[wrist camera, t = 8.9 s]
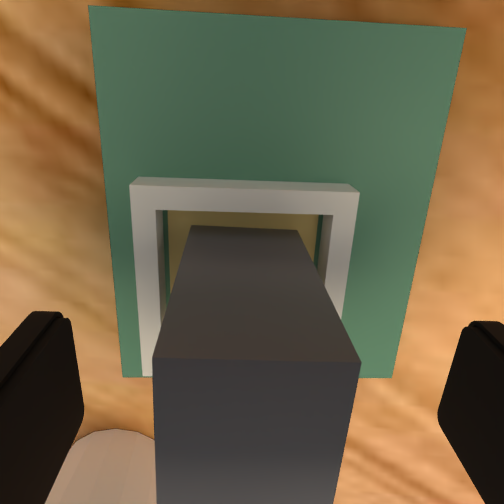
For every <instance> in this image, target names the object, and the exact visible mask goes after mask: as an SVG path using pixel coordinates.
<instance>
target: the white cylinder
mask: <svg viewBox="0 0 504 504" xmlns="http://www.w3.org/2000/svg"><path fill="white" fill-rule="evenodd" d="M45 504H157V502H156V470H155V440H153V439H151V438H149V437H147V436H145V435H143V434H141V433H139V432H134V431H128V430H121V429H110V430H103V431H96V432H93V433H91V434H89V435H87V436H85V437H83V438H81V439H79V440H77V441H76V442H75V444H74V445H73V446H72V448H71V449H70V450H69V452H68V454H67V456H66V458H65V461H64V463H63V465H62V467H61V469H60V472H59V474H58V476H57V478H56V480H55V483H54V485H53V487H52V489H51V491H50V493H49V496H48V498H47V500H46V502H45Z"/></svg>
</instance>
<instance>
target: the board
mask: <svg viewBox="0 0 504 504" xmlns="http://www.w3.org/2000/svg"><path fill="white" fill-rule="evenodd" d="M88 9H89V20H90V30H91V41H92V52H93V63H94V73H95V84H96V95H97V106H98V116H99V127H100V138H101V149H102V159H103V170H104V181H105V192H106V202H107V213H108V224H109V235H110V245H111V256H112V267H113V278H114V288H115V299H116V310H117V321H118V331H119V342H120V353H121V364H122V374H123V377H153V376H152V356H153V352H154V349H155V346H156V342H157V339H158V335H159V332H160V329H161V325H162V322H163V318H164V315H165V312H166V308H167V305H168V302H169V298H170V295H171V291H172V288H173V285H174V281H175V278H176V274H177V271H178V268H179V264H180V261H181V257H182V254H183V251H184V247H185V244H186V241H187V237H188V234H189V230H190V227H191V225H203V226H224V227H245V228H267V229H288V230H298V232H299V234H300V237H301V239H302V241H303V243H304V245H305V247H306V249H307V251H308V253H309V255H310V257H311V259H312V261H313V263H314V265H315V267H316V269H317V272H318V274H319V276H320V278H321V280H322V282H323V284H324V286H325V288H326V290H327V292H328V294H329V296H330V298H331V300H332V302H333V305H334V307H335V309H336V311H337V313H338V315H339V317H340V319H341V321H342V323H343V325H344V327H345V329H346V331H347V333H348V335H349V338H350V340H351V342H352V344H353V346H354V348H355V350H356V352H357V354H358V356H359V358H360V360H361V362H362V364H361V368H360V373H359V378H392V374H393V369H394V365H395V360H396V355H397V351H398V346H399V341H400V337H401V332H402V327H403V323H404V318H405V313H406V309H407V304H408V299H409V295H410V290H411V285H412V281H413V276H414V271H415V267H416V262H417V258H418V253H419V248H420V244H421V239H422V234H423V230H424V225H425V220H426V216H427V211H428V206H429V202H430V197H431V192H432V188H433V183H434V178H435V174H436V169H437V164H438V160H439V155H440V150H441V146H442V141H443V136H444V132H445V127H446V122H447V118H448V113H449V108H450V104H451V99H452V94H453V90H454V85H455V80H456V76H457V71H458V67H459V62H460V57H461V53H462V48H463V43H464V39H465V34H466V29H467V28H456V27H439V26H422V25H406V24H389V23H373V22H356V21H339V20H323V19H306V18H290V17H273V16H256V15H240V14H223V13H207V12H190V11H173V10H157V9H140V8H124V7H107V6H91V5H88Z"/></svg>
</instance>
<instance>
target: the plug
mask: <svg viewBox="0 0 504 504" xmlns="http://www.w3.org/2000/svg"><path fill="white" fill-rule="evenodd" d="M361 364H362V362H361V360H360V358H359V356H358V354H357V352H356V350H355V348H354V346H353V344H352V342H351V340H350V338H349V335H348V333H347V331H346V329H345V327H344V325H343V323H342V321H341V319H340V317H339V315H338V313H337V311H336V309H335V307H334V305H333V302H332V300H331V298H330V296H329V294H328V292H327V290H326V288H325V286H324V284H323V282H322V280H321V278H320V276H319V274H318V272H317V269H316V267H315V265H314V263H313V261H312V259H311V257H310V255H309V253H308V251H307V249H306V247H305V245H304V243H303V241H302V239H301V237H300V234H299V232H298V230H288V229H267V228H245V227H224V226H203V225H191V227H190V230H189V234H188V237H187V241H186V244H185V247H184V251H183V254H182V257H181V261H180V264H179V268H178V271H177V274H176V278H175V281H174V285H173V288H172V291H171V295H170V298H169V302H168V305H167V308H166V312H165V315H164V318H163V322H162V325H161V329H160V332H159V335H158V339H157V342H156V346H155V349H154V352H153V356H152V376H153V407H154V439H155V470H156V502H157V504H333V501H334V496H335V492H336V487H337V482H338V477H339V472H340V467H341V462H342V457H343V452H344V447H345V442H346V437H347V432H348V428H349V423H350V418H351V413H352V408H353V403H354V398H355V393H356V388H357V383H358V378H359V373H360V368H361Z"/></svg>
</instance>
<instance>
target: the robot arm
mask: <svg viewBox="0 0 504 504" xmlns="http://www.w3.org/2000/svg"><path fill="white" fill-rule="evenodd" d="M83 416H84V402H83V396H82V390H81V383H80V377H79V370H78V364H77V358H76V351H75V345H74V339H73V332H72V326H71V321H70V320H69V319H68V318H63V315H62V313H60V312H50V311H34V312H32V313H30V314H29V315H28V316H27V318H26V319H25V320H24V321H23V322H22V323H21V324H20V325H19V327H18V328H17V329H16V330H15V331H14V332H13V333H12V334H11V335H10V337H9V338H8V339H7V340H6V341H5V342H4V343H3V344H2V346H1V347H0V504H45V502H46V500H47V498H48V496H49V493H50V491H51V489H52V487H53V485H54V483H55V480H56V478H57V476H58V474H59V472H60V469H61V467H62V465H63V463H64V461H65V458H66V456H67V454H68V452H69V450H70V448H71V445H72V443H73V441H74V439H75V437H76V434H77V432H78V430H79V428H80V426H81V423H82V420H83ZM438 422H439V425H440V427H441V429H442V431H443V432H444V434H445V436H446V437H447V439H448V441H449V443H450V444H451V446H452V448H453V449H454V451H455V453H456V455H457V456H458V458H459V460H460V461H461V463H462V465H463V467H464V468H465V470H466V472H467V473H468V475H469V477H470V479H471V480H472V482H473V484H474V485H475V487H476V489H477V491H478V492H479V494H480V496H481V497H482V499H483V501H484V503H485V504H504V325H503V324H502V323H500V322H497V321H473V322H471V323H470V324H469V326H468V327H464V329H463V330H462V332H461V335H460V338H459V342H458V345H457V348H456V352H455V355H454V358H453V362H452V365H451V368H450V372H449V375H448V378H447V382H446V385H445V388H444V392H443V395H442V398H441V402H440V405H439V408H438Z"/></svg>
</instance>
